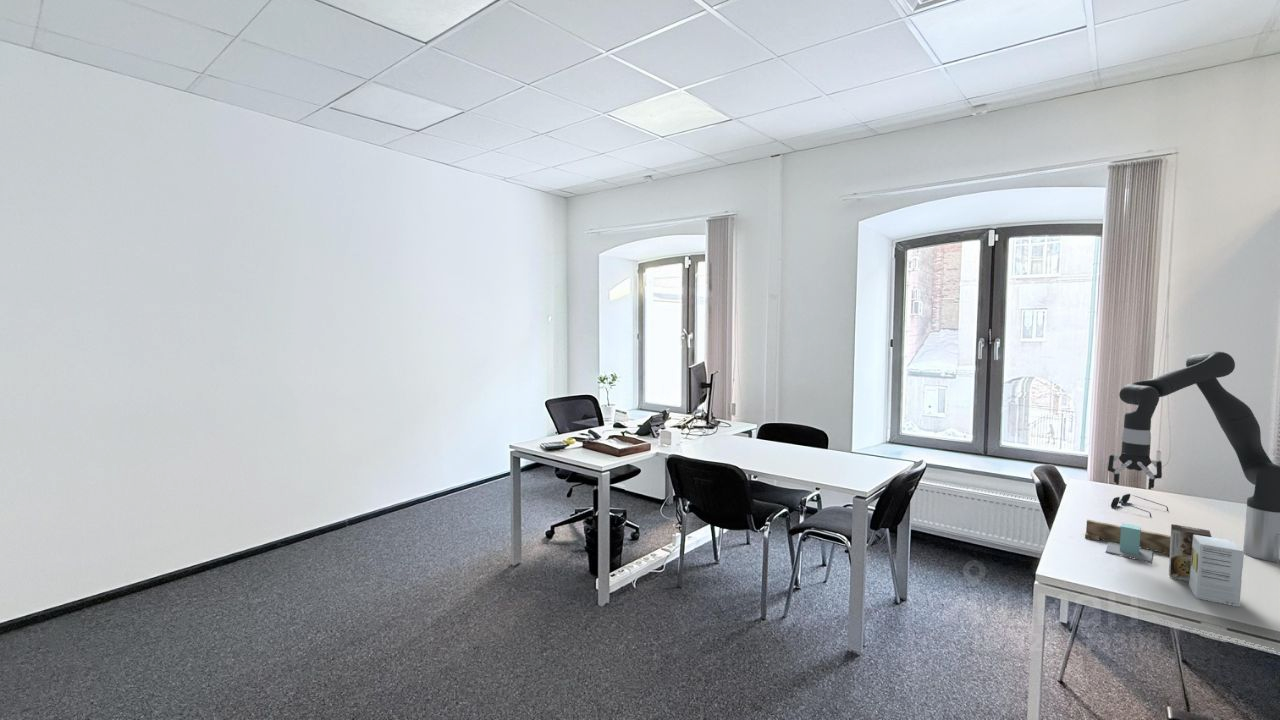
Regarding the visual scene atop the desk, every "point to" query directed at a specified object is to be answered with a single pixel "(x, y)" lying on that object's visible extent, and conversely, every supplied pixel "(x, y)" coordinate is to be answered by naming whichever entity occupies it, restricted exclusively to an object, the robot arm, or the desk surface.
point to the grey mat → (1143, 553)
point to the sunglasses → (1125, 500)
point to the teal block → (1130, 538)
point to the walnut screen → (1113, 533)
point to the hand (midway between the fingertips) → (1133, 486)
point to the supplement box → (1216, 570)
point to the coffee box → (1182, 550)
